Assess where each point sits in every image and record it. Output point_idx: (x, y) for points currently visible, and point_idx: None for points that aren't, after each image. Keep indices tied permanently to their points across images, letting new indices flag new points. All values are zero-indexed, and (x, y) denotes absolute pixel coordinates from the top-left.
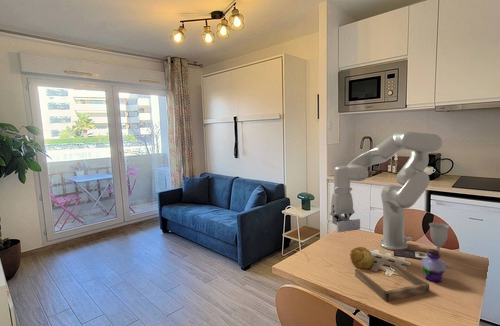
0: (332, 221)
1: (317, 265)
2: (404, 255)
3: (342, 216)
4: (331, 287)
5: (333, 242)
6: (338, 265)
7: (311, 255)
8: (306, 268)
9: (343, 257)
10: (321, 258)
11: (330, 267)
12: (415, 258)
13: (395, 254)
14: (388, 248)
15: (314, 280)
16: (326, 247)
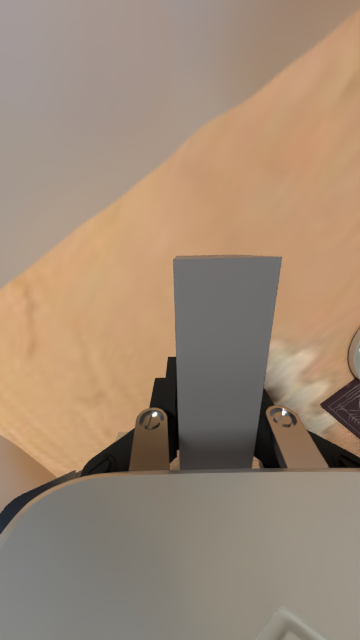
0: (176, 256)
1: (55, 389)
2: (346, 419)
3: (240, 423)
4: (62, 475)
5: (195, 227)
6: (119, 406)
7: (51, 321)
8: (16, 395)
9: (160, 369)
10: (82, 353)
11: (91, 408)
12: (357, 436)
13: (329, 407)
14: (351, 369)
15: (28, 447)
16: (137, 271)
